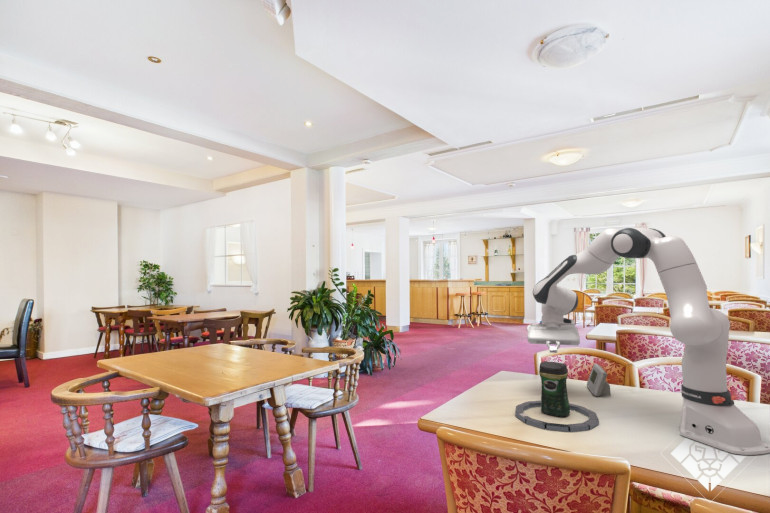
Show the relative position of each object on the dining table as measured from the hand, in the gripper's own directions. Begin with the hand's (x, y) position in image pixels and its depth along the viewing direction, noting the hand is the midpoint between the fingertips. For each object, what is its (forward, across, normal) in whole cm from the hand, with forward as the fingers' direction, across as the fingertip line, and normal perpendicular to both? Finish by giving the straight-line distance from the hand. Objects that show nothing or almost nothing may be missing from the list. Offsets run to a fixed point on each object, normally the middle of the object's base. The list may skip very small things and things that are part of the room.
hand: (553, 351), depth 162 cm
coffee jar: (+25, 0, +2) cm, 25 cm away
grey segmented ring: (+28, 0, -1) cm, 28 cm away
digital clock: (+2, +16, +26) cm, 31 cm away
